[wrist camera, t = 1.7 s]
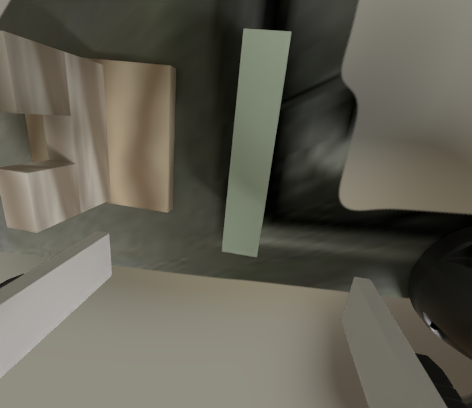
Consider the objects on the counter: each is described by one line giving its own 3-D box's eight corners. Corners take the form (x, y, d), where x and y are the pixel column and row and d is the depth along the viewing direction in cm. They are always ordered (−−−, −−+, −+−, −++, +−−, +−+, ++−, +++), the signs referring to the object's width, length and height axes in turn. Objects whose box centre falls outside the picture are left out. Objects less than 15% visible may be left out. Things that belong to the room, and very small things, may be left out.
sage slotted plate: (256, 64, 25) (243, 28, 16) (286, 67, 25) (291, 31, 15) (239, 211, 30) (221, 251, 21) (263, 215, 30) (256, 257, 20)
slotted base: (176, 68, 26) (105, 29, 15) (172, 208, 31) (117, 252, 21) (27, 55, 28) (-126, 12, 18) (47, 188, 34) (-63, 218, 23)
